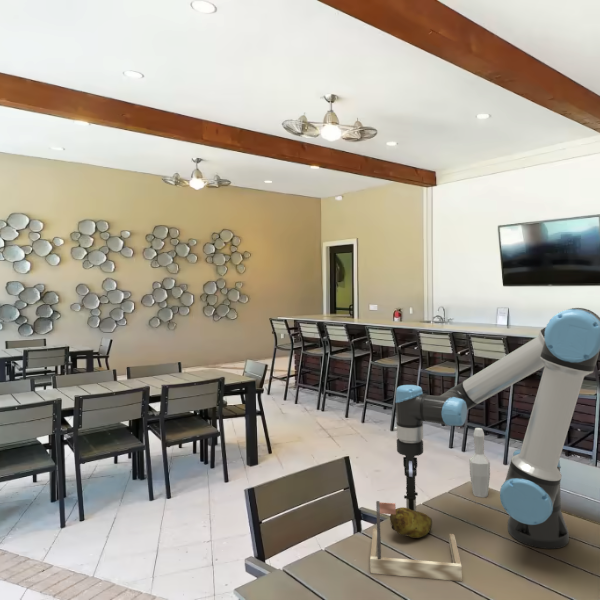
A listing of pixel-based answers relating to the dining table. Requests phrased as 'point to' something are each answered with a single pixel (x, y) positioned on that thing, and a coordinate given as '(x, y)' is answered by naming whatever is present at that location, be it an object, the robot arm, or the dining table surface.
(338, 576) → the dining table surface
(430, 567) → the wooden tray with flag
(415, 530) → the potato
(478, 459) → the low poly bottle
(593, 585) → the dining table surface
